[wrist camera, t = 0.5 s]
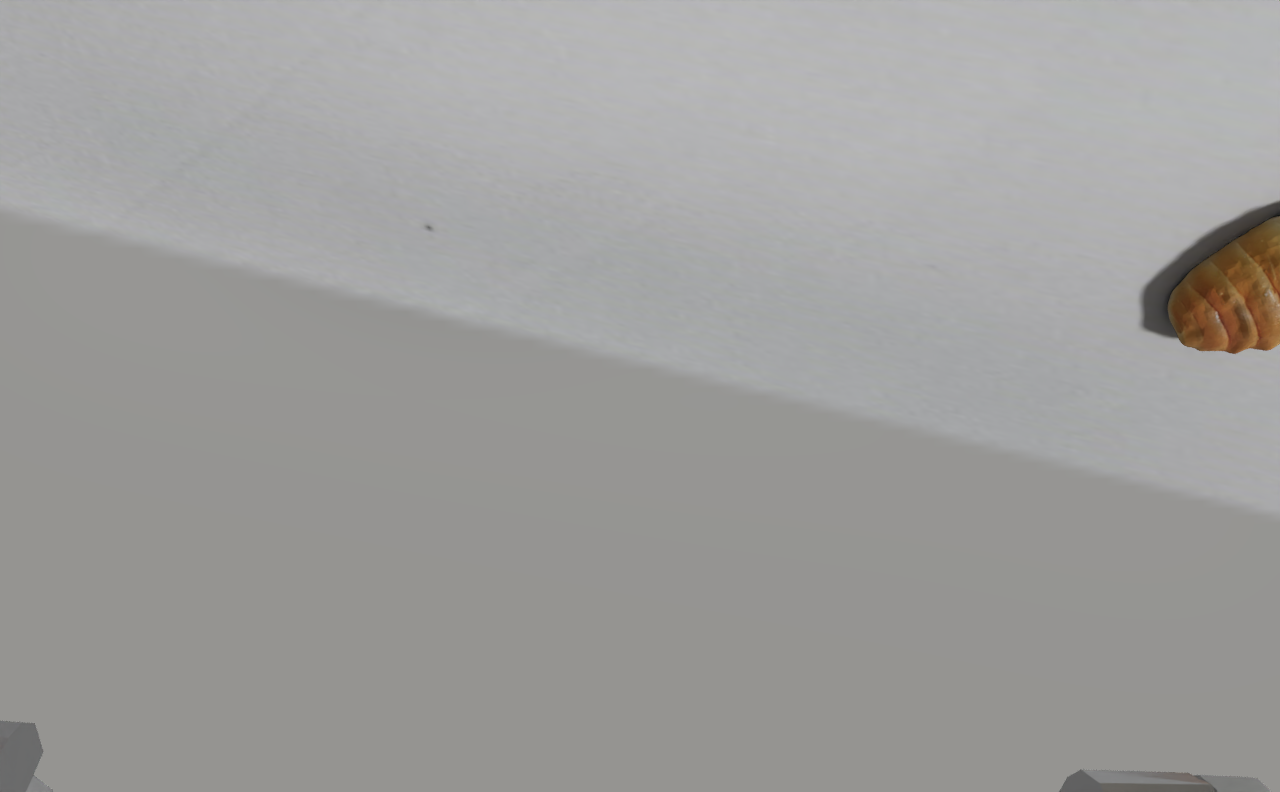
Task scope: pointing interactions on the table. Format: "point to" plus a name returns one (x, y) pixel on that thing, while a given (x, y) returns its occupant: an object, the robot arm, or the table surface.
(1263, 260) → the pastry
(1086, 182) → the table surface
